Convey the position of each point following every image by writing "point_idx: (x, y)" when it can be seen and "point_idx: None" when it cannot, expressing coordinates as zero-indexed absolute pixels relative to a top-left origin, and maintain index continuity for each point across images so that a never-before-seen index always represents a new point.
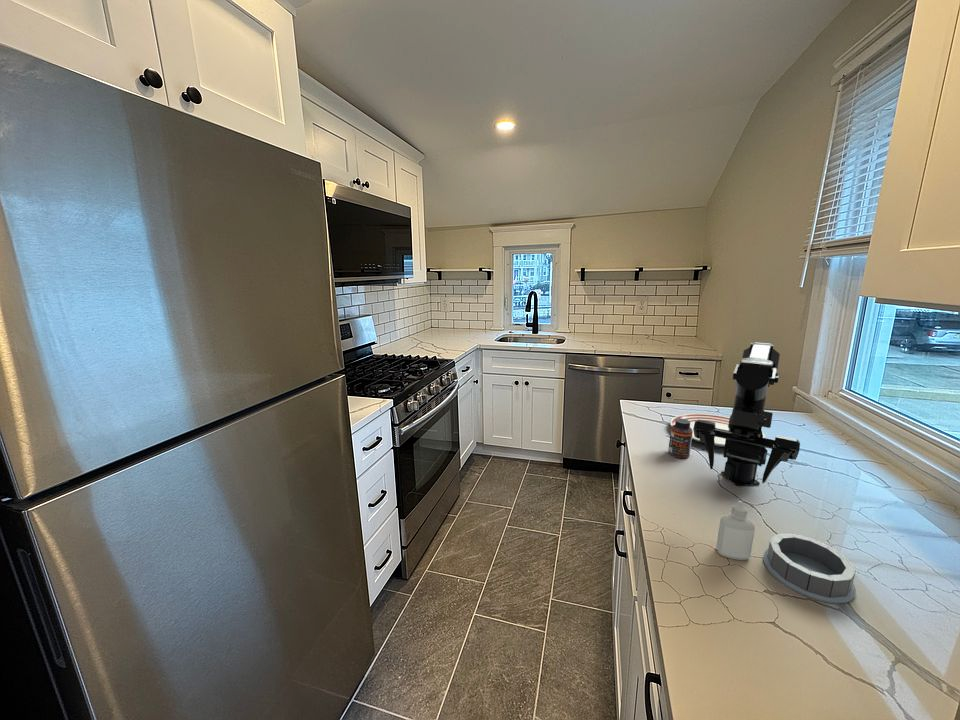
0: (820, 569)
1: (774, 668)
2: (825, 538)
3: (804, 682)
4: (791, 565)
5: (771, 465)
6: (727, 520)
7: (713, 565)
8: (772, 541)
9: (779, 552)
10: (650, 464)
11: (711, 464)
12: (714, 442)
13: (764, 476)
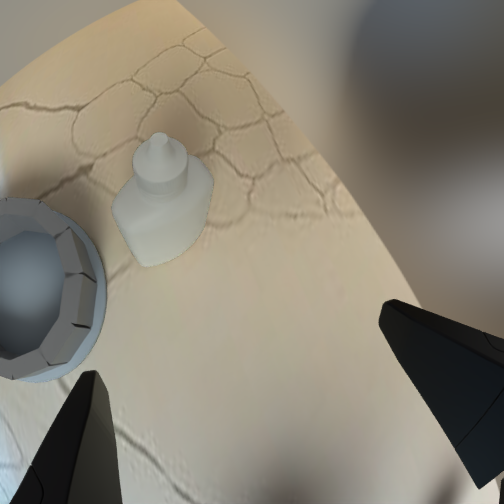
0: (7, 322)
1: (84, 54)
2: None
3: (56, 62)
4: (35, 200)
5: (37, 476)
6: (189, 157)
7: None
8: (77, 273)
9: (58, 231)
10: None
11: (404, 308)
12: (500, 462)
13: (83, 393)
